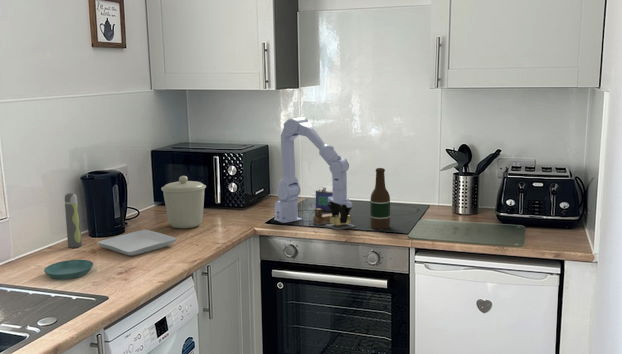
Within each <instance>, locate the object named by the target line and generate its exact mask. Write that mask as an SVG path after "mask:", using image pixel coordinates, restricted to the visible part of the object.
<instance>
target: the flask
mask: <svg viewBox="0 0 622 354" xmlns="http://www.w3.org/2000/svg"><path fill="white" fill-rule="evenodd" d="M328 197H333V190H332V191H331V190H327V187H322V189H317V190H315V209H317V208H320V209H322V212H329V213H330V212H331V210H330V208H329V206H328V204H331V202H328Z"/></svg>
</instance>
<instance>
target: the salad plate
mask: <svg viewBox="0 0 622 354" xmlns="http://www.w3.org/2000/svg"><path fill="white" fill-rule="evenodd" d="M177 240H178V238H177V237H174V236H171V235H168V234H164V233H160V232H157V231H153V230H150V229H149V230H148V229H146V228H145V229H141V230H136V231H133V232H129V233H126V234H125V233H124V234H122V235H118V236H117V235H116V236H113V237H110V238H107V239H106V238H105V239H103V240H99V241H97V242H96V243H97V245H99V246H100V247H102V248H104V249H108V250H111V251H114V252H117V253H120V254H123V255H126V256H129V257H130V256H133V257H134V256H137V255H141V254H145V253H149V252H153V251H156V250H159V249H163V248H165V247H168V246H171V245H172V244H174V243H176V242H177Z"/></svg>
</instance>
